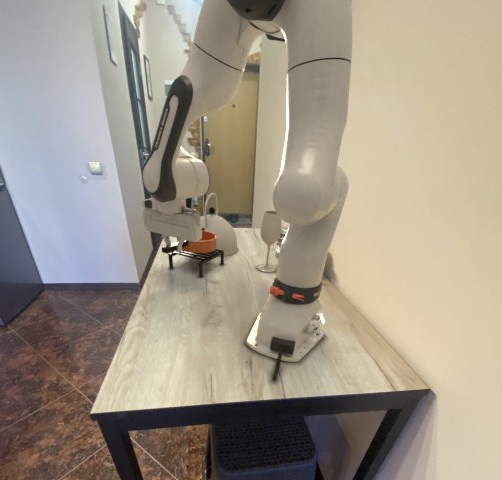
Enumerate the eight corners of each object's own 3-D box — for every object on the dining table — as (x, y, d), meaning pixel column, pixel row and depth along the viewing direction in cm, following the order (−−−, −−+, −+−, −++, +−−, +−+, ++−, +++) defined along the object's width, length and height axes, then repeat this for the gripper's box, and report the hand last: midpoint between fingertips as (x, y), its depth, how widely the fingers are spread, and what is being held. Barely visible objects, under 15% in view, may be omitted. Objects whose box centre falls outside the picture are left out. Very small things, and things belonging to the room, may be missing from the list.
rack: (201, 277, 101) (200, 260, 97) (169, 268, 105) (168, 252, 102) (223, 264, 113) (224, 249, 110) (194, 256, 117) (193, 241, 114)
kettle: (229, 261, 116) (231, 201, 103) (176, 254, 118) (171, 194, 106) (241, 244, 136) (244, 192, 124) (196, 238, 139) (194, 186, 126)
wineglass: (260, 272, 109) (266, 214, 97) (254, 265, 115) (259, 209, 103) (278, 272, 111) (286, 215, 99) (272, 265, 117) (279, 210, 105)
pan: (192, 238, 113) (192, 228, 110) (223, 246, 108) (223, 235, 106) (148, 255, 93) (146, 243, 91) (183, 265, 89) (182, 252, 87)
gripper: (205, 208, 85) (206, 253, 93) (151, 198, 91) (156, 241, 99) (193, 211, 80) (195, 259, 88) (137, 200, 87) (143, 245, 94)
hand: (174, 249), depth 94 cm, fingers closed on pan, 2 cm apart
